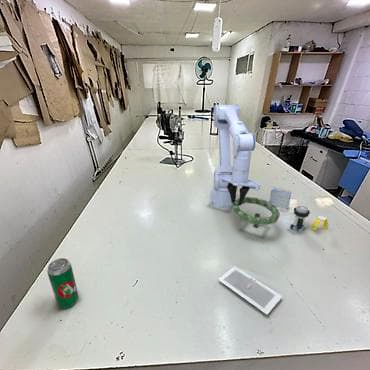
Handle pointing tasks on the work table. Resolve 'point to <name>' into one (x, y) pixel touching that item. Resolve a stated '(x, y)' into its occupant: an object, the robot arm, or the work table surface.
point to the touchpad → (251, 289)
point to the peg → (256, 224)
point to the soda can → (63, 283)
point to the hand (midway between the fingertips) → (236, 203)
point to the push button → (299, 218)
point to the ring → (252, 219)
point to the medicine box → (280, 197)
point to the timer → (320, 218)
